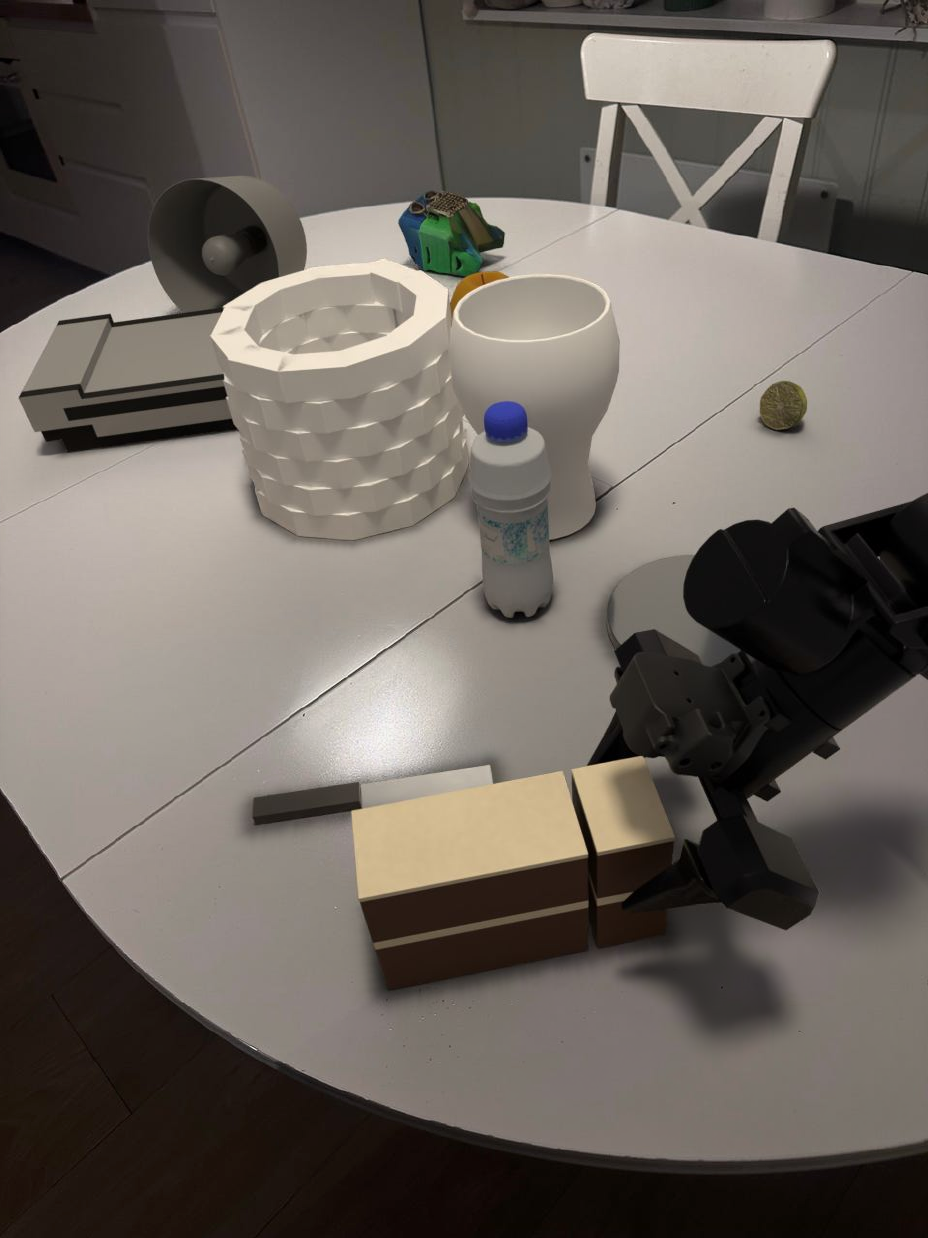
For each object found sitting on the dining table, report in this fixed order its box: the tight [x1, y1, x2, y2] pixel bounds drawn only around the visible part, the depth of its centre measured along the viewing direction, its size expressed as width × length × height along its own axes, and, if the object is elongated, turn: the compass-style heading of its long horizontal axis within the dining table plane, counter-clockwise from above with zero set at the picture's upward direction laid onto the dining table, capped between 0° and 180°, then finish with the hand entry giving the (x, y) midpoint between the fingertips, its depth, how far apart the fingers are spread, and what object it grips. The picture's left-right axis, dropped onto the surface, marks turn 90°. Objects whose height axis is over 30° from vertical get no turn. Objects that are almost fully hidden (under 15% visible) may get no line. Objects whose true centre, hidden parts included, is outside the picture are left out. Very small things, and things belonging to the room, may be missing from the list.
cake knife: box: [251, 764, 495, 825], centre depth 69 cm, size 18×2×1 cm, turn 96°
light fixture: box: [147, 175, 308, 313], centre depth 137 cm, size 20×25×27 cm
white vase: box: [449, 273, 621, 541], centre depth 87 cm, size 15×15×22 cm
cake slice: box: [570, 756, 676, 949], centre depth 57 cm, size 4×6×11 cm
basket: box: [210, 258, 470, 541], centre depth 96 cm, size 25×24×19 cm
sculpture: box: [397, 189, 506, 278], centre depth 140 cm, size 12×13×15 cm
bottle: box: [468, 401, 554, 618], centre depth 77 cm, size 7×7×20 cm
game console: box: [18, 308, 238, 453], centre depth 116 cm, size 21×32×8 cm, turn 96°
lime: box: [759, 380, 808, 431], centre depth 100 cm, size 4×5×5 cm
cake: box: [350, 770, 590, 991], centre depth 57 cm, size 13×6×11 cm, turn 99°
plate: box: [606, 554, 741, 667], centre depth 79 cm, size 16×16×1 cm
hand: (604, 843), depth 56 cm, fingers open, 9 cm apart
